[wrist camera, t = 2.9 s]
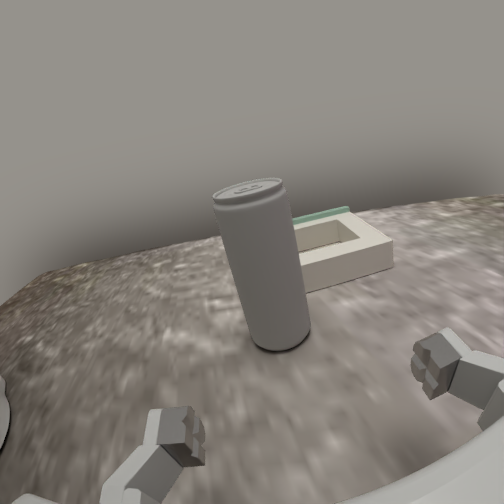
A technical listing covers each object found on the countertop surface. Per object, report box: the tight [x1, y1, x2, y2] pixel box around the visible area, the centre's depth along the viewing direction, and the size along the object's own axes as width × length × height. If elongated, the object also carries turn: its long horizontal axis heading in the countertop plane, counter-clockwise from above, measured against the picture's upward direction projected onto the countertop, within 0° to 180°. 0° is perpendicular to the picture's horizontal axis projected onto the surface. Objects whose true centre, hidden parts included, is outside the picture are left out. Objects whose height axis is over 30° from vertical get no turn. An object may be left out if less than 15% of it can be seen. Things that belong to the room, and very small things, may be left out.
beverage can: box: [212, 178, 310, 351], centre depth 21 cm, size 5×5×12 cm
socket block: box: [292, 206, 393, 293], centre depth 32 cm, size 12×12×4 cm
